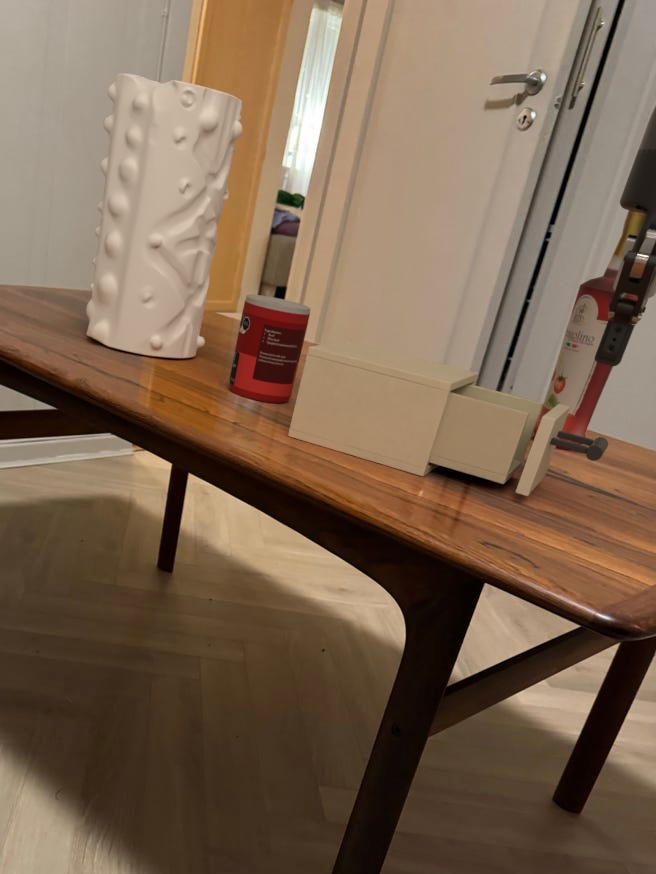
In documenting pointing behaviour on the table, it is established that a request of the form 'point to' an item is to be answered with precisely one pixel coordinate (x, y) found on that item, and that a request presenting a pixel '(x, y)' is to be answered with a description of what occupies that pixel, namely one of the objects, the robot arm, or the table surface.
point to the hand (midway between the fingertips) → (606, 363)
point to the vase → (160, 213)
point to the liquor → (587, 344)
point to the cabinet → (374, 403)
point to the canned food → (268, 348)
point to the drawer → (503, 436)
